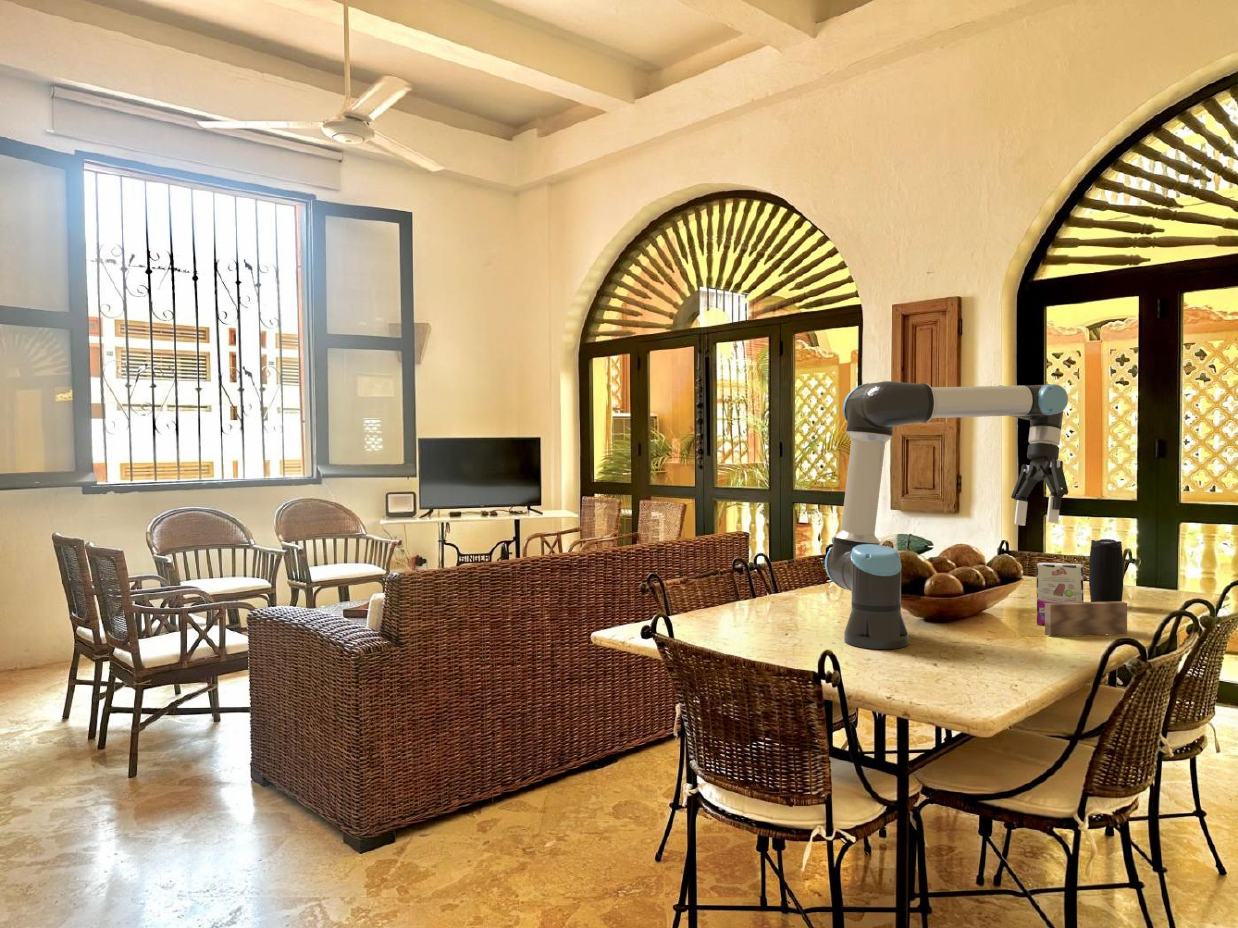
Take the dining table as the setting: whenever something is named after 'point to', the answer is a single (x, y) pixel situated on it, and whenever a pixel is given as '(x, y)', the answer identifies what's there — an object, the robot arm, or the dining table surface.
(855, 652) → the dining table surface
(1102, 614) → the walnut board
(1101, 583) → the portable speaker
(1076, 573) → the candy bar box
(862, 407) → the robot arm
